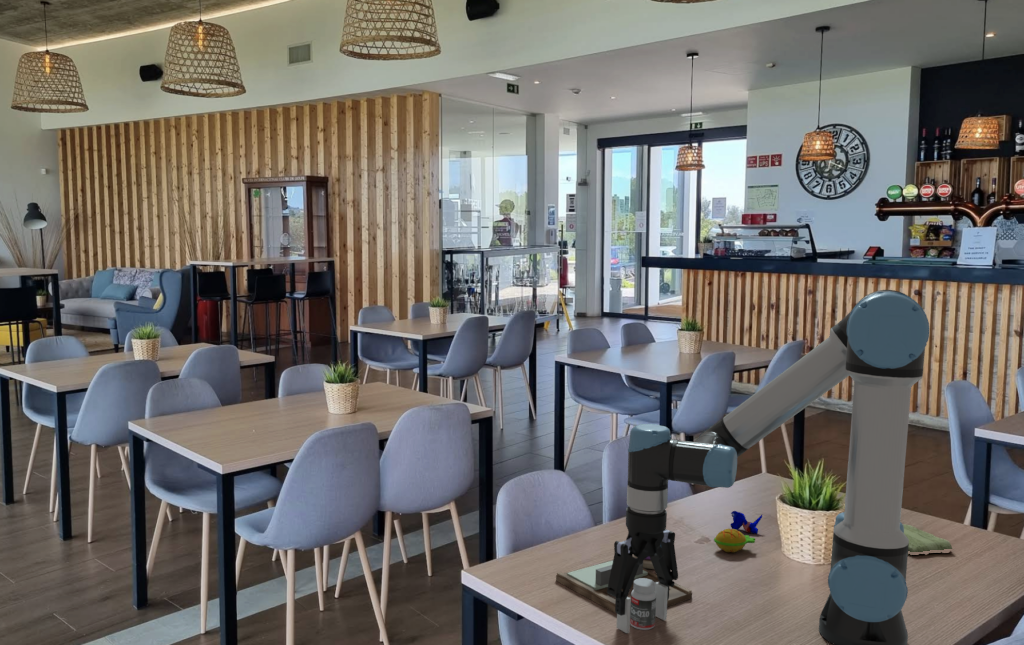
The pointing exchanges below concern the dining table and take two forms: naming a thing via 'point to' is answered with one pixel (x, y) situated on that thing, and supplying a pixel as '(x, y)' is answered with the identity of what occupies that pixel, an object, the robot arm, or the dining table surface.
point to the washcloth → (924, 540)
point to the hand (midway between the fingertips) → (641, 623)
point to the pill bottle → (643, 604)
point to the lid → (599, 575)
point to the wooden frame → (601, 595)
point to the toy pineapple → (732, 540)
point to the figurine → (744, 522)
